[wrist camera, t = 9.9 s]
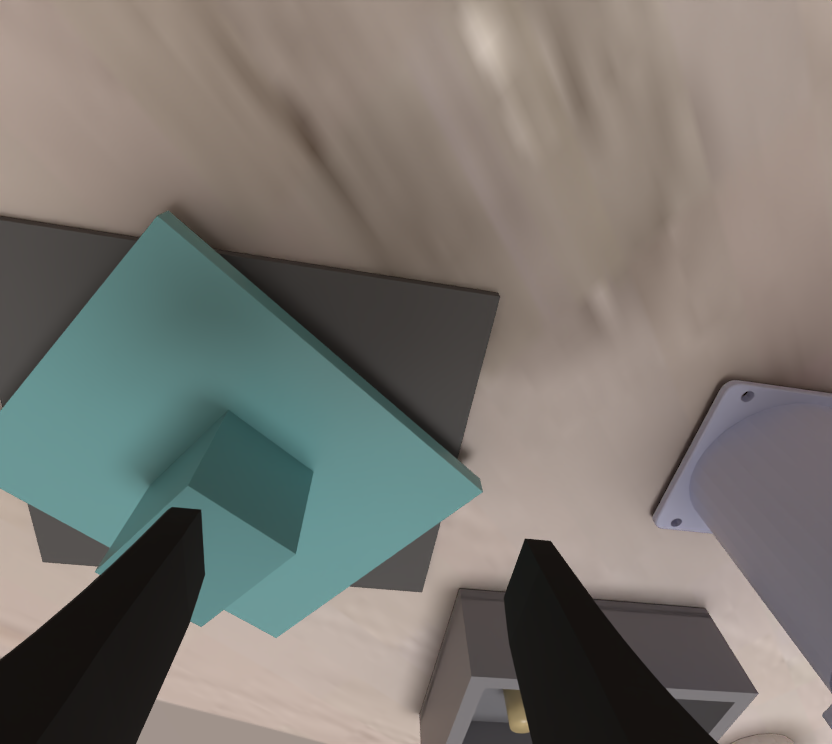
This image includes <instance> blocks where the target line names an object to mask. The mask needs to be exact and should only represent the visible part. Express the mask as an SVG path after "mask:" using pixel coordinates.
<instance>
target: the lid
mask: <svg viewBox="0 0 832 744" xmlns="http://www.w3.org/2000/svg"><path fill="white" fill-rule="evenodd" d="M0 489H2V490H4V491H6V492H8V493H10V494H12V495H13V496H15V497H17V498H19V499H21V500H23V501H24V502H26V503H28V504H30V505H32V506H34V507H36V508H37V509H39V510H41V511H43V512H45V513H47V514H48V515H50V516H52V517H54V518H56V519H58V520H59V521H61V522H63V523H65V524H67V525H69V526H71V527H72V528H74V529H76V530H78V531H80V532H82V533H83V534H85V535H87V536H89V537H91V538H93V539H95V540H96V541H98V542H100V543H102V544H104V545H106V546H107V547H109V548H110V549H109V550H108V552H107V553H106V555H105V557H104V558H103V560H102V561H101V563H100V564H99V566H98V567H97V569H96V571H95V572H96V573H98V574H100V575H101V574H102V573H103V572H104V571H105V570H106V569H107V568H108V567H109V566H111V565H112V564H113V563H114V562H115V561H116V560H117V559H118V558H119V557H120V556H121V555H122V554H123V553H124V552H125V551H126V550H127V549H128V548H129V547H130V546H132V545H133V544H134V543H135V542H136V541H137V540H138V539H139V538H140V537H141V536H142V535H143V534H144V533H145V532H146V531H147V530H148V529H149V528H150V527H151V526H152V525H153V524H154V523H155V522H156V521H157V520H158V519H159V518H160V517H161V516H162V515H163V514H164V513H165V512H166V511H167V510H168V509H169V508H171V507H180V508H191V509H201V512H202V529H203V547H204V564H205V577H204V580H203V583H202V586H201V590H200V593H199V596H198V599H197V602H196V605H195V608H194V611H193V614H192V617H191V620H190V621H191V622H193V623H195V624H196V625H198V626H200V627H202V626H203V625H205V624H206V623H207V622H208V621H210V620H211V619H212V618H214V617H215V616H216V615H218V614H219V613H220V612H221V611H223V610H225V611H227V612H229V613H231V614H233V615H235V616H237V617H238V618H240V619H242V620H244V621H246V622H248V623H249V624H251V625H253V626H255V627H257V628H259V629H261V630H262V631H264V632H266V633H268V634H270V635H272V636H273V637H275V638H277V637H278V636H280V635H281V634H282V633H284V632H285V631H287V630H288V629H290V628H291V627H292V626H294V625H295V624H297V623H298V622H299V621H301V620H302V619H304V618H305V617H306V616H308V615H309V614H311V613H312V612H314V611H315V610H316V609H318V608H319V607H321V606H322V605H323V604H325V603H326V602H328V601H329V600H331V599H332V598H333V597H335V596H336V595H338V594H339V593H340V592H342V591H343V590H345V589H346V588H348V587H349V586H350V585H352V584H353V583H355V582H356V581H357V580H359V579H360V578H362V577H363V576H365V575H366V574H367V573H369V572H370V571H372V570H373V569H374V568H376V567H377V566H379V565H380V564H381V563H383V562H384V561H386V560H387V559H389V558H390V557H391V556H393V555H394V554H396V553H397V552H398V551H400V550H401V549H403V548H404V547H406V546H407V545H408V544H410V543H411V542H413V541H414V540H415V539H417V538H418V537H420V536H421V535H423V534H424V533H425V532H427V531H428V530H430V529H431V528H432V527H434V526H435V525H437V524H438V523H439V522H441V521H442V520H444V519H445V518H447V517H448V516H449V515H451V514H452V513H454V512H455V511H456V510H458V509H459V508H461V507H462V506H464V505H465V504H466V503H468V502H469V501H471V500H472V499H473V498H475V497H476V496H478V495H479V494H481V493H482V492H483V490H482V486H481V482H480V478H478V477H477V476H476V475H475V474H474V473H473V472H471V471H470V470H469V469H468V468H467V467H466V466H464V465H463V464H462V463H461V462H460V461H459V460H457V459H456V458H455V457H454V456H453V455H452V454H450V453H449V452H448V451H447V450H446V449H445V448H444V447H442V446H441V445H440V444H439V443H438V442H437V441H435V440H434V439H433V438H432V437H431V436H430V435H428V434H427V433H426V432H425V431H424V430H423V429H421V428H420V427H419V426H418V425H417V424H416V423H414V422H413V421H412V420H411V419H410V418H409V417H408V416H406V415H405V414H404V413H403V412H402V411H401V410H399V409H398V408H397V407H396V406H395V405H394V404H392V403H391V402H390V401H389V400H388V399H387V398H385V397H384V396H383V395H382V394H381V393H380V392H378V391H377V390H376V389H375V388H374V387H373V386H372V385H370V384H369V383H368V382H367V381H366V380H365V379H363V378H362V377H361V376H360V375H359V374H358V373H356V372H355V371H354V370H353V369H352V368H351V367H349V366H348V365H347V364H346V363H345V362H344V361H342V360H341V359H340V358H339V357H338V356H337V355H336V354H334V353H333V352H332V351H331V350H330V349H329V348H327V347H326V346H325V345H324V344H323V343H322V342H320V341H319V340H318V339H317V338H316V337H315V336H313V335H312V334H311V333H310V332H309V331H308V330H306V329H305V328H304V327H303V326H302V325H301V324H300V323H298V322H297V321H296V320H295V319H294V318H293V317H291V316H290V315H289V314H288V313H287V312H286V311H284V310H283V309H282V308H281V307H280V306H279V305H277V304H276V303H275V302H274V301H273V300H272V299H270V298H269V297H268V296H267V295H266V294H265V293H264V292H262V291H261V290H260V289H259V288H258V287H257V286H255V285H254V284H253V283H252V282H251V281H250V280H248V279H247V278H246V277H245V276H244V275H243V274H241V273H240V272H239V271H238V270H237V269H236V268H234V267H233V266H232V265H231V264H230V263H229V262H228V261H226V260H225V259H224V258H223V257H222V256H221V255H219V254H218V253H217V252H216V251H215V250H214V249H212V248H211V247H210V246H209V245H208V244H207V243H205V242H204V241H203V240H202V239H201V238H200V237H198V236H197V235H196V234H195V233H194V232H193V231H192V230H190V229H189V228H188V227H187V226H186V225H185V224H183V223H182V222H181V221H180V220H179V219H178V218H176V217H175V216H174V215H173V214H172V213H171V212H169V211H166V212H164V213H162V214H160V215H158V216H157V217H156V218H155V219H154V221H153V222H152V223H151V224H150V226H149V227H148V228H147V229H146V231H145V232H144V233H143V234H142V236H141V237H140V238H139V239H138V241H137V242H136V243H135V244H134V245H133V247H132V248H131V249H130V250H129V252H128V253H127V254H126V255H125V257H124V258H123V259H122V260H121V262H120V263H119V264H118V265H117V267H116V268H115V269H114V270H113V272H112V273H111V274H110V275H109V277H108V278H107V279H106V280H105V282H104V283H103V284H102V285H101V286H100V288H99V289H98V290H97V291H96V293H95V294H94V295H93V296H92V298H91V299H90V300H89V301H88V303H87V304H86V305H85V306H84V308H83V309H82V310H81V311H80V313H79V314H78V315H77V316H76V318H75V319H74V320H73V321H72V323H71V324H70V325H69V326H68V328H67V329H66V330H65V331H64V332H63V334H62V335H61V336H60V337H59V339H58V340H57V341H56V342H55V344H54V345H53V346H52V347H51V349H50V350H49V351H48V352H47V354H46V355H45V356H44V357H43V359H42V360H41V361H40V362H39V364H38V365H37V366H36V367H35V369H34V370H33V371H32V372H31V373H30V375H29V376H28V377H27V378H26V380H25V381H24V382H23V383H22V385H21V386H20V387H19V388H18V390H17V391H16V392H15V393H14V395H13V396H12V397H11V398H10V400H9V401H8V402H7V403H6V405H5V406H4V407H3V408H2V410H1V411H0Z"/></svg>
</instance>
